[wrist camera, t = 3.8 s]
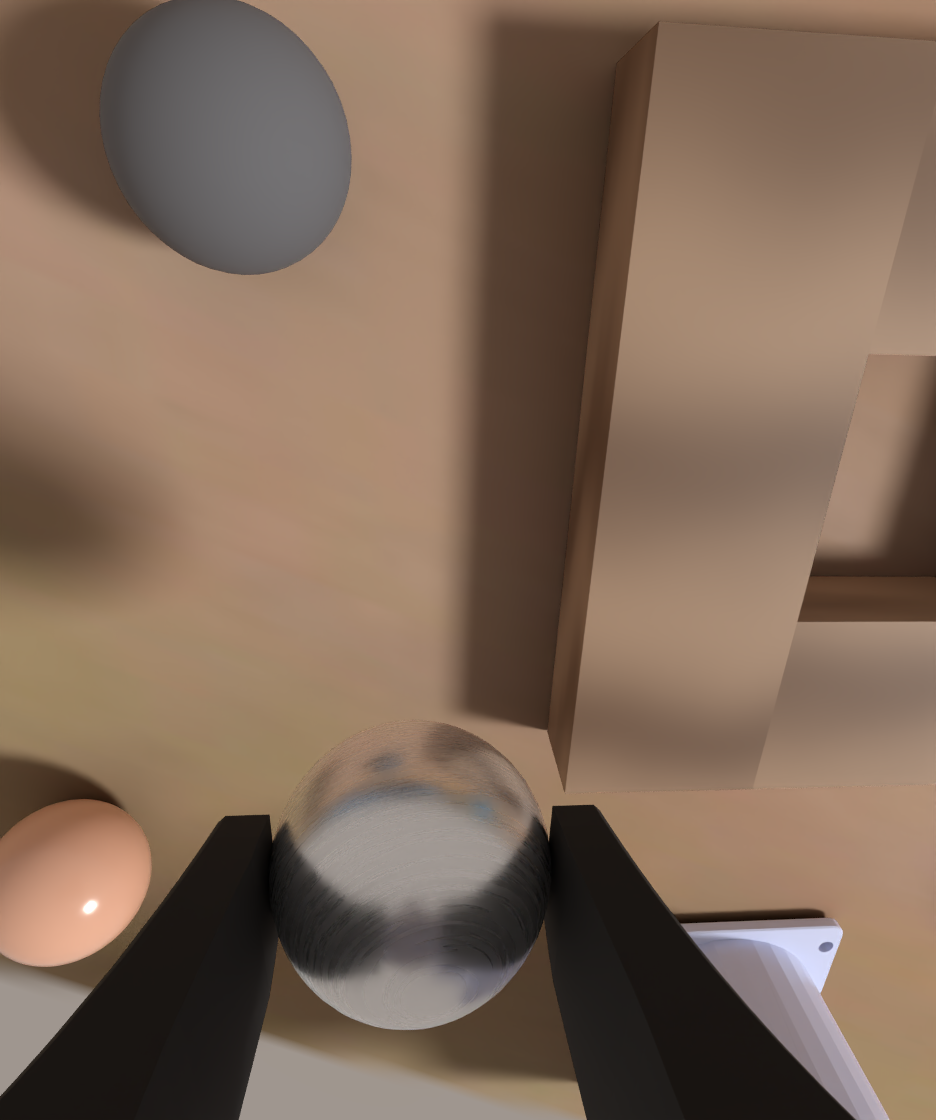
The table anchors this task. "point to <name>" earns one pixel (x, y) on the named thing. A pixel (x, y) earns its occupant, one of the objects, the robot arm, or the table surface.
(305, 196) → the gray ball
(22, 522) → the table surface
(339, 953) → the steel ball
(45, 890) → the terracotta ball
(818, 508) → the wooden square frame
